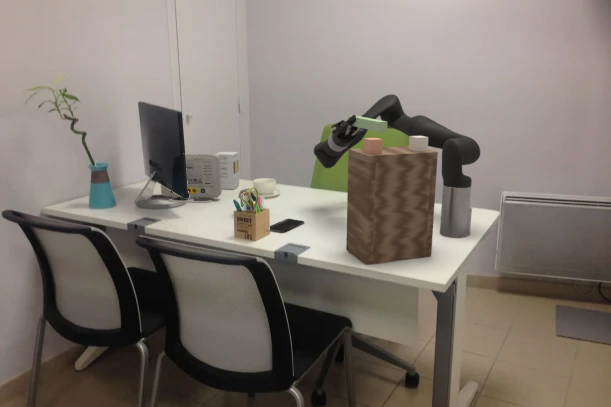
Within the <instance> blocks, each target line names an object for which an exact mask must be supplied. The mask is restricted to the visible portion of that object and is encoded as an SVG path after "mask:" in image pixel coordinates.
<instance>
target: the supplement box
mask: <svg viewBox="0 0 611 407" xmlns="http://www.w3.org/2000/svg"><path fill="white" fill-rule="evenodd" d="M216 154H217V155H219V156H220V165H221V190H229V189H234V190H235V189H237V188H238V187H240V170H239V169H240V167H239V166H240V162H239V152H238V151H219V152H217V153H216ZM236 187H237V188H236Z"/></svg>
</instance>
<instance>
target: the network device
mask: <svg viewBox="0 0 611 407" xmlns="http://www.w3.org/2000/svg"><path fill="white" fill-rule="evenodd" d="M184 154H185V155H186V168H187V181H188V191H189V195H190V198H189V199H188V198H187V199H188V200H187V199H186V200H179V199H182V198H181V197H180V196H179V195H177V194H175V193H173V192H172V191H170V190H169V189H167V188H166V187H164V186H163V185H161V184H160V190H161V195H162V196H163V197H171V198H169V199H168V201H169V203H183V202H186V203H189V204H190V203H192V204H198V203H199V204H209V203H212V202H213V201H214V200H215V199H216V198H219V197H220V196H221V195H222V189H221V165H220V156H219V155H217V153H214V154H213V153H184ZM178 197H180V198H178ZM173 199H174V200H173ZM177 199H178V200H177ZM199 199H200V200H199ZM201 199H205V200H201ZM207 199H208V200H207ZM186 203H185V204H186Z"/></svg>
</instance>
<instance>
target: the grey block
mask: <svg viewBox="0 0 611 407" xmlns="http://www.w3.org/2000/svg"><path fill="white" fill-rule="evenodd" d="M408 138H409V140H408V146H409V150H412V151H428V150H429V146H428V137H425V136H408Z"/></svg>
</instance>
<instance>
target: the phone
mask: <svg viewBox="0 0 611 407" xmlns="http://www.w3.org/2000/svg"><path fill="white" fill-rule="evenodd" d="M304 224H305V221H304V220H300V219H293V218H285V219H283V220H281V221H277V223H273V224H271V225H269V226H270V231H269V232H272V233H278V234H285V233H288V232H289V231H292V230H294V229H296V228H299V227H300V226H302V225H304Z"/></svg>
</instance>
